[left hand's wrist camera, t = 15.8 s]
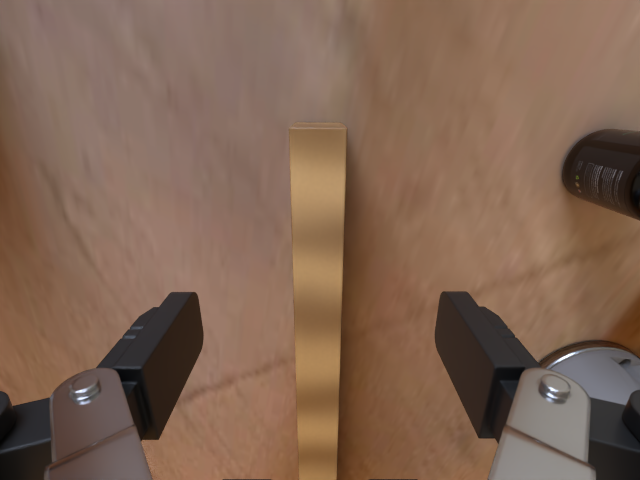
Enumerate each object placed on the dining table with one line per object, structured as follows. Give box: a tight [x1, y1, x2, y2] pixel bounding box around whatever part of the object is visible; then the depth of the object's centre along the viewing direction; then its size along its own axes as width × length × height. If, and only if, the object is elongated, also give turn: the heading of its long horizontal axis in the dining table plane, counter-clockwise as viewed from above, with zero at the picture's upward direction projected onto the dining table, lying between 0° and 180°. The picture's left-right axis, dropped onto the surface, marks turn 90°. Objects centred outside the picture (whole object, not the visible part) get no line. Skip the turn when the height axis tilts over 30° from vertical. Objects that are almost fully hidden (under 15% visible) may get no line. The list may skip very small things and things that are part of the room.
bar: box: [289, 122, 347, 480], centre depth 40 cm, size 53×4×7 cm, turn 0°
